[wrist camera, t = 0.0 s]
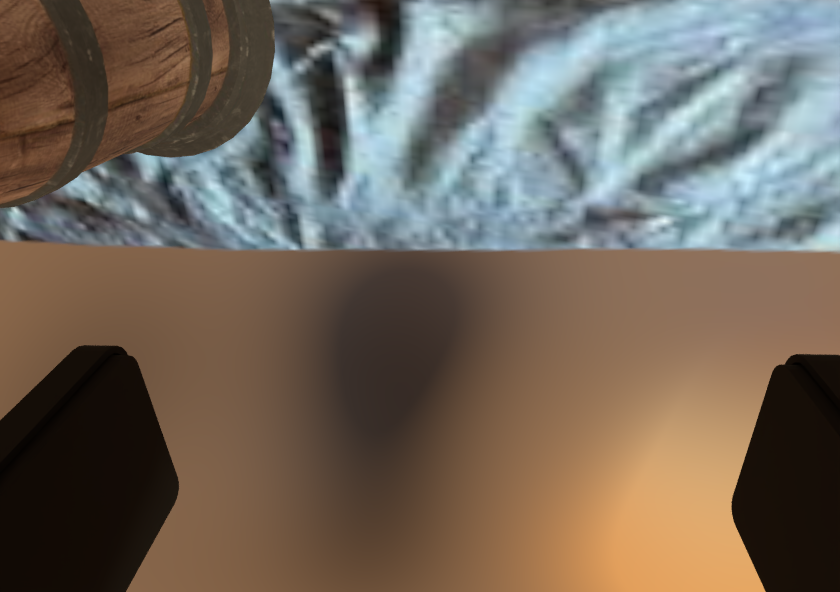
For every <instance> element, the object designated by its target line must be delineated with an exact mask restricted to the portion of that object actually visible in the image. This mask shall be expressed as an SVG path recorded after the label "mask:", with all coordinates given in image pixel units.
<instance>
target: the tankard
mask: <svg viewBox="0 0 840 592" xmlns="http://www.w3.org/2000/svg"><path fill="white" fill-rule="evenodd" d="M274 53H275V42H274V21H273V16H272V11H271V6H270V2H269V0H0V208H6V207H15V206H18V205H21V204H24V203H27V202H30V201H33V200H36V199H38V198H40V197H43V196H45V195H47V194H49V193H51V192H53V191H56V190H58V189H60V188H61V187H63V186H64V185H66V184H67V183H69V182H70V181H72V180H74V179H75V178H77V177H78V176H79V175H80V173H82V172H84V171H86V170H88V169H90V168H93V167H95V166H97V165H99V164H101V163H104V162H106V161H108V160H110V159H112V158H115V157H117V156H119V155H121V154H131V153H135V152H139V153H143V154H146V155H153V156H162V157H182V156H193V155H196V154H200V153H203V152H206V151H209V150H212V149H215V148H217V147H218V146H220V145H222V144H223V143H225V142H227V141H228V140H230V139H232V138H233V137H234V136H235V135H236V134H237V133H238V132H239V131H240V130H242V129H243V128H244V127H245V126H246V125H247V124H248V123H249V122H250V120H251V119H252V117H253V115H254V114H255V112H256V111H257V109H258V108H259V106H260V104H261V103H262V101H263V98H264V95H265V93H266V90H267V87H268V84H269V82H270V79H271V73H272V67H273V60H274Z"/></svg>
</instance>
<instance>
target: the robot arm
mask: <svg viewBox="0 0 840 592" xmlns="http://www.w3.org/2000/svg"><path fill="white" fill-rule="evenodd" d="M178 490H179V481H178V477H177V474H176V471H175V468H174V465H173V463H172V460H171V457H170V454H169V451H168V448H167V445H166V443H165V440H164V437H163V434H162V431H161V428H160V425H159V422H158V420H157V417H156V414H155V411H154V408H153V405H152V402H151V399H150V397H149V394H148V391H147V388H146V386H145V382H144V379H143V377H142V374H141V371H140V368H139V365H138V363H137V361H136V359H135V358H134V357H133V356H129V355H127V352H126V351H125V350H124V349H123V348H122V347H119V346H89V345H88V346H87V345H84V346H79V347H77V348H76V349H74V350H73V351H72V352H71V353H70V354H69V355H67V357H65V358H64V359H63V360H62V361H61V362H60V363H59V364H58V365H57V366H56V367H55V368H54V369H53V370H52V371H51V372H50V373H49V374H48V375H47V376H46V377H45V378H44V379H43V380H42V381H41V382H40V383H39V384H37V386H35V387H34V388H33V389H32V390H31V391H30V392H29V393H28V394H27V395H26V396H25V397H24V398H23V399H22V400H21V401H20V402H19V403H18V404H17V405H16V406H15V407H14V408H13V409H12V410H11V411H10V412H9V413H7V415H5V416H4V418H2V419H1V420H0V592H126V590H127V589H128V587H129V585H130V583H131V581H132V579H133V578H134V576H135V574H136V572H137V570H138V568H139V567H140V565H141V563H142V561H143V560H144V558H145V556H146V554H147V552H148V551H149V549H150V547H151V545H152V543H153V542H154V540H155V538H156V536H157V534H158V533H159V531H160V529H161V527H162V525H163V524H164V522H165V520H166V518H167V516H168V514H169V513H170V511H171V509H172V507H173V506H174V504H175V501H176V499H177V495H178ZM732 515H733V519H734V523H735V525H736V528H737V530H738V532H739V534H740V536H741V539H742V541H743V543H744V545H745V547H746V550H747V552H748V554H749V556H750V558H751V560H752V563H753V564H754V567H755V569H756V571H757V574H758V576H759V578H760V580H761V582H762V584H763V586H764V589H765V591H766V592H840V355H810V354H805V355H804V354H796V355H793V356H791V357H790V358H789V359H788V360H787V361H786V363H785V365H778V366H776V367H775V368H774V370H773V372H772V375H771V378H770V381H769V384H768V387H767V390H766V394H765V397H764V400H763V403H762V406H761V410H760V412H759V416H758V419H757V422H756V425H755V428H754V432H753V434H752V438H751V441H750V444H749V447H748V450H747V453H746V456H745V460H744V463H743V466H742V469H741V472H740V475H739V479H738V482H737V485H736V488H735V491H734V494H733V498H732Z"/></svg>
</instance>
